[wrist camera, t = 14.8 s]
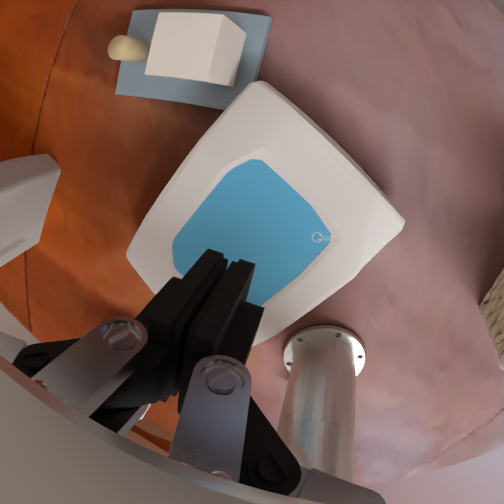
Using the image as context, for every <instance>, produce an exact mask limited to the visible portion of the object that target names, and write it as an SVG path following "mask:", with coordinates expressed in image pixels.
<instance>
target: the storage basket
mask: <svg viewBox="0 0 504 504" xmlns="http://www.w3.org/2000/svg"><path fill="white" fill-rule="evenodd" d="M485 302H486V303H485ZM479 309H480V311H481V314H482V317H483V319H484V320H485V323H486V324H485V325H486V327H487V328H488V330H489V335H490V337H491V339H492V340H493V343H494V345H495V348H496V350H497V352H498V355H499V360H498V365H499V366H500V368H501V369H502V370H503V371H504V267H503V269H502V271H501V273H500V275H499V276H498V277H497V278H496V280H495V282H494V283H493V285H492V287H491V289H490V290H489V291H488V292H487V293H486V295H485V297H484V299H483V301H482V302H481V304H480V307H479Z"/></svg>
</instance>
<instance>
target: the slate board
mask: <svg viewBox="0 0 504 504" xmlns="http://www.w3.org/2000/svg"><path fill="white" fill-rule="evenodd" d="M159 12H186V13H209V14H223V15H225V16H226V17H227V18H229V19H230V20H231V21H232V22H234V23H235V24H236V25H237V26H238V27H240V28H241V29H242V30H243V31H244V32H245V33H247V34H246V38H245V42H244V45H243V49H242V53H241V57H240V61H239V66H238V70H237V74H236V78H235V82H234V87H230V86H225V85H219V84H213V83H206V82H200V81H193V80H185V79H177V78H170V77H162V76H154V75H145V70H146V65H147V60H148V55H149V51H150V46H151V42H152V38H153V34H154V30H155V26H156V22H157V18H158V14H159ZM272 21H273V20H272V18H271V17H269V16H263V15H256V14H248V13H239V12H229V11H216V10H198V9H151V10H133V13H132V17H131V20H130V24H129V28H128V32H127V36H123V35H119V36H116V37H115V38H113V39H112V40H111V42H110V44H109V46H108V55H109V56H110V58H112V59H115V60H121V64H120V69H119V75H118V80H117V86H116V92H115V95H126V96H136V97H145V98H153V99H161V100H168V101H175V102H181V103H187V104H193V105H199V106H205V107H210V108H215V109H221V110H226V109H227V107H228V106H229V105H230V104H231V103H232V102H233V101H234V100H235V99H236V97H237V96H238V95H239V94H240V93H241V92H242V91H243V90H244V89H245V88H246V87H247V86H248V85H249V83H252V82H256V81H257V80H258V76H259V72H260V68H261V64H262V60H263V56H264V52H265V48H266V44H267V40H268V36H269V32H270V29H271V25H272Z"/></svg>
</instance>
